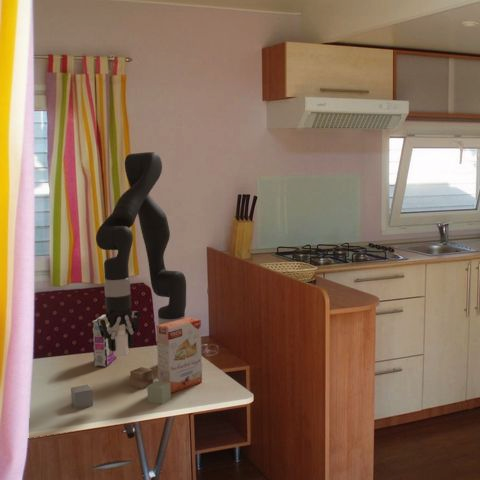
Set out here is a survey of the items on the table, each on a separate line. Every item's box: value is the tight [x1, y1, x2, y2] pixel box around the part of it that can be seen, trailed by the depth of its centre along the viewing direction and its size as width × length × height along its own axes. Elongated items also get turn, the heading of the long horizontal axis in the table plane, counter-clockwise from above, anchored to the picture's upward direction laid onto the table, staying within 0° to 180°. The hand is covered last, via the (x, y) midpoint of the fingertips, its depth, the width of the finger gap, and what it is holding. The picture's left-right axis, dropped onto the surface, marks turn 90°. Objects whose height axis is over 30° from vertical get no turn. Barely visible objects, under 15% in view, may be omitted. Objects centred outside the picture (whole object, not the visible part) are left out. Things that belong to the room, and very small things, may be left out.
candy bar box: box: [91, 314, 118, 368], centre depth 237 cm, size 11×5×16 cm, turn 172°
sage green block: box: [146, 380, 172, 405], centre depth 199 cm, size 5×5×5 cm
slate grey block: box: [70, 384, 94, 410], centre depth 197 cm, size 5×5×5 cm
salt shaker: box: [114, 324, 130, 357], centre depth 199 cm, size 4×4×10 cm
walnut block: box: [129, 366, 154, 390], centre depth 212 cm, size 5×5×5 cm
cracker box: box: [156, 316, 203, 394], centre depth 209 cm, size 14×6×21 cm, turn 137°
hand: (121, 348), depth 199 cm, fingers closed on salt shaker, 5 cm apart
